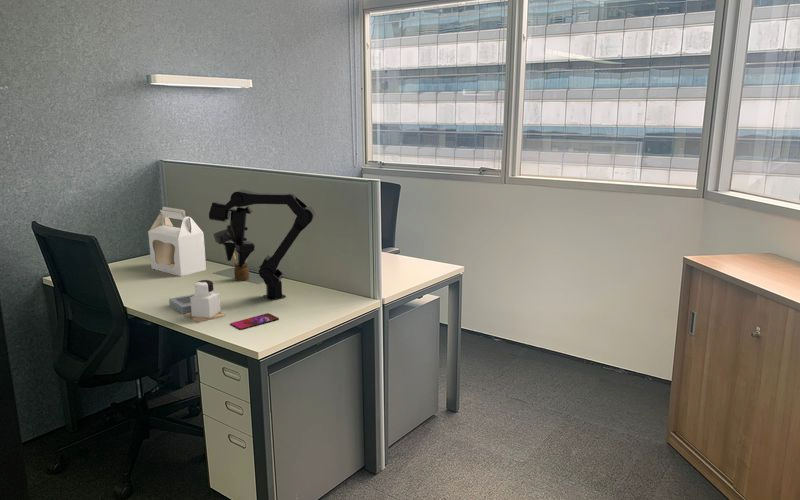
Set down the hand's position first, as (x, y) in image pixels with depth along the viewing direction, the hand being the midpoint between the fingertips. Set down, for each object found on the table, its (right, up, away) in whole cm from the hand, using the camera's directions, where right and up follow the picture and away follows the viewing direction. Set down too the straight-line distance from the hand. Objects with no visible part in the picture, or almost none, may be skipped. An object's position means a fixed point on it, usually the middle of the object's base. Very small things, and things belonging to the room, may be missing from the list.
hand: (234, 263), depth 226 cm
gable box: (-37, -4, +42) cm, 56 cm away
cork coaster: (-5, -18, -17) cm, 25 cm away
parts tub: (-13, -15, -7) cm, 21 cm away
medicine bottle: (-5, -17, -17) cm, 25 cm away
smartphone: (+13, -20, -23) cm, 33 cm away
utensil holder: (-5, -7, +27) cm, 29 cm away
